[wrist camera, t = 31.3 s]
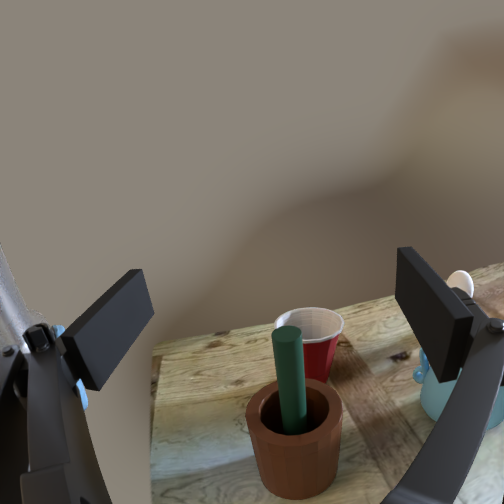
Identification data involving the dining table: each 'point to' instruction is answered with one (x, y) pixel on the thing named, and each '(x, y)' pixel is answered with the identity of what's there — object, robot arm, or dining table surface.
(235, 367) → the dining table surface
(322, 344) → the plastic cup
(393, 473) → the dining table surface
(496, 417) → the decorative pot
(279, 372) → the green peg on base
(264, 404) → the brown mortar
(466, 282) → the light bulb
